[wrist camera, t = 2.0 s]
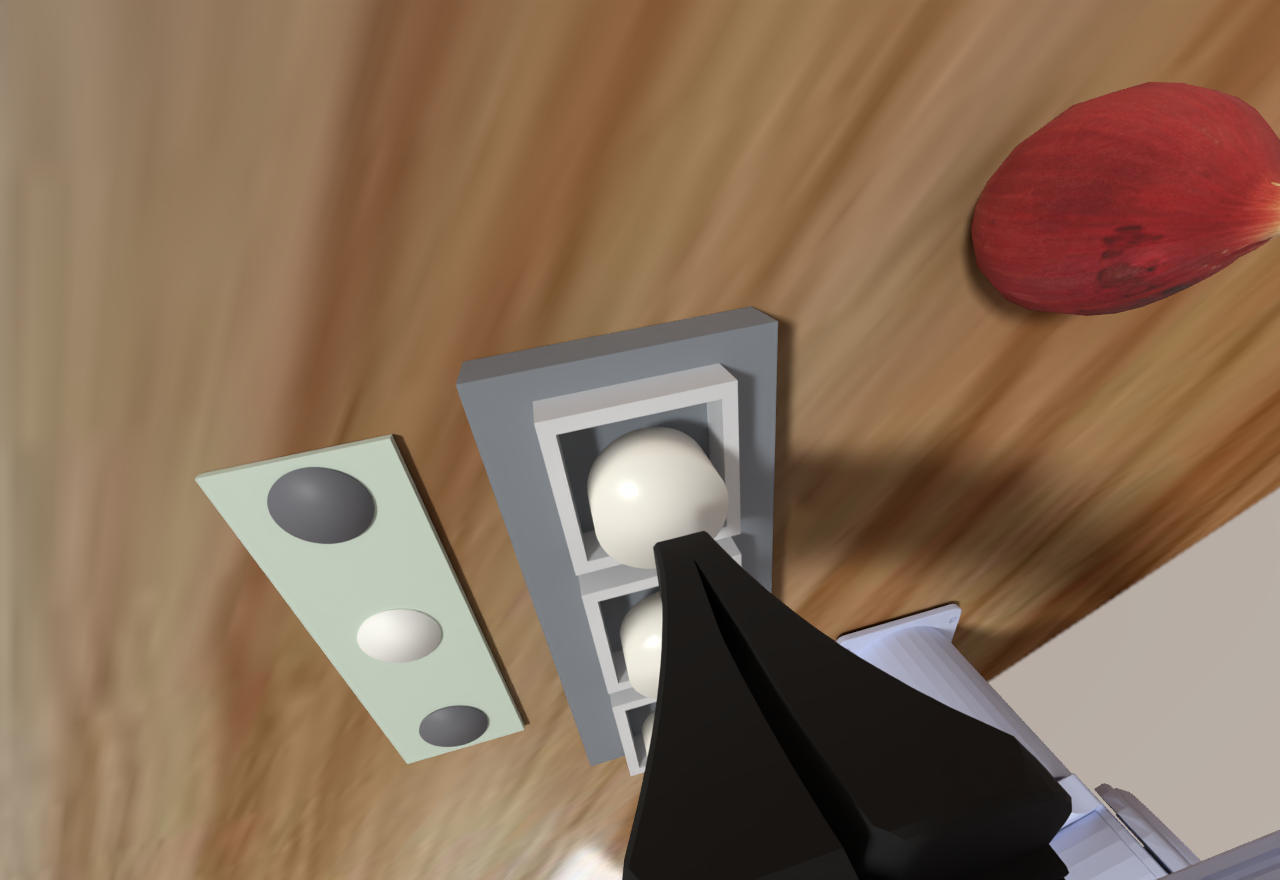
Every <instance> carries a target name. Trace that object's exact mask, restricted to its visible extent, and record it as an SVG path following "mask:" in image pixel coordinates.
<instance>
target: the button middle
mask: <svg viewBox="0 0 1280 880" xmlns="http://www.w3.org/2000/svg"><path fill="white" fill-rule="evenodd" d="M620 639H621V643H622V648H623V653H624V657H625V662H626V667H627V671H628V676H629V680H630V683H631V685H632V687H633V688H634V689H635V690H636V691H637V692H638V693H640V694H641V695H643V696H646V697H649V698H653V699H657V693H658V684H659V674H660V663H661V647H662V601H661V597H660V591H658V592H656V593H653V594H651V595H649V596H647V597H645V598H644V599H642V600H641V601H639V602H638V603H637V604H636V605H634V606H633V607H632V608H631V609H630V610H629V612H628V613H627V614H626V616H625V617H624V619H623V621H622V624H621V627H620Z"/></svg>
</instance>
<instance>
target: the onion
mask: <svg viewBox="0 0 1280 880" xmlns="http://www.w3.org/2000/svg"><path fill="white" fill-rule="evenodd" d="M971 233H972V241H973V246H974V251H975V256H976V261H977V266H978V268H979V269H980V270H981V271H982V273H983V274H984V275H985V276H986V278H987V279H988V280H989V281H990V282H991V284H992V285H993V286H994V287H995V288H996V289H997V290H998V291H999V292H1000V293H1001V295H1002V296H1003V297H1004V298H1005V299H1006V300H1008V301H1010V302H1012V303H1015V304H1017V305H1019V306H1022V307H1024V308H1026V309H1029V310H1035V311H1045V312H1055V313H1065V314H1075V315H1085V316H1091V315H1103V314H1115V313H1119V312H1123V311H1127V310H1131V309H1135V308H1139V307H1143V306H1145V305H1148V304H1151V303H1153V302H1156V301H1159V300H1161V299H1164V298H1167V297H1169V296H1171V295H1173V294H1175V293H1177V292H1180V291H1182V290H1184V289H1186V288H1188V287H1190V286H1192V285H1194V284H1196V283H1198V282H1200V281H1202V280H1204V279H1206V278H1208V277H1210V276H1212V275H1214V274H1215V273H1217V272H1219V271H1220V270H1222V269H1223V268H1225V267H1227V266H1228V265H1230V264H1231V263H1233V262H1234V261H1235V260H1236V259H1238V258H1239V257H1241V256H1243V255H1245V254H1247V253H1249V252H1251V251H1253V250H1255V249H1257V248H1258V247H1260V246H1262V245H1263V244H1265V243H1266V242H1268V241H1270V240H1271V239H1273V238H1275V237H1277V236H1280V140H1279V138H1278V137H1277V136H1276V134H1275V133H1274V131H1273V130H1272V129H1271V127H1270V126H1269V124H1268V123H1267V122H1266V121H1265V119H1264V118H1263V117H1262V116H1261V115H1260V114H1259V112H1258V111H1257V110H1256V109H1255V108H1253V107H1252V106H1250V105H1249V104H1247V103H1246V102H1244V101H1243V100H1241V99H1240V98H1238V97H1235V96H1232V95H1228V94H1225V93H1222V92H1219V91H1216V90H1212V89H1207V88H1202V87H1198V86H1193V85H1188V84H1184V83H1162V82H1148V83H1144V84H1141V85H1137V86H1134V87H1130V88H1127V89H1123V90H1120V91H1116V92H1113V93H1110V94H1106V95H1103V96H1100V97H1097V98H1094V99H1091V100H1088V101H1085V102H1082V103H1078V104H1075V105H1072V106H1071V107H1070V108H1068V109H1067V110H1066V111H1064V112H1063V113H1061V114H1060V115H1059V116H1057V117H1056V118H1055V119H1053V120H1052V121H1051V122H1049V123H1048V124H1046V125H1045V126H1044V127H1042V128H1041V129H1040V130H1038V131H1037V132H1035V133H1034V134H1033V135H1031V136H1030V137H1029V138H1027V139H1026V140H1024V141H1023V142H1022V143H1020V144H1019V145H1018V146H1016V147H1015V149H1014V150H1013V151H1012V152H1011V153H1010V155H1009V156H1008V157H1007V158H1006V160H1005V161H1004V162H1003V163H1002V165H1001V166H1000V167H999V168H998V170H997V171H996V172H995V173H994V174H993V176H992V177H991V178H990V179H989V181H988V182H987V184H986V186H985V188H984V190H983V192H982V194H981V196H980V197H979V199H978V201H977V203H976V205H975V210H974V216H973V221H972V227H971Z"/></svg>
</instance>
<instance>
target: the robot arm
mask: <svg viewBox="0 0 1280 880" xmlns="http://www.w3.org/2000/svg"><path fill="white" fill-rule="evenodd" d="M653 551H654V557H655V564H656V571H657V577H658V584H659V591H660V597H661V601H662V647H661V663H660V674H659V684H658V693H657V701H656V708H655V715H654V722H653V729H652V735H651V741H650V747H649V752H648V757H647V762H646V767H645V772H644V777H643V782H642V787H641V792H640V797H639V801H638V806H637V810H636V814H635V818H634V822H633V826H632V830H631V834H630V838H629V842H628V846H627V850H626V855H625V859H624V867H623V878H622V880H1280V830H1278V831H1276V832H1273V833H1271V834H1268V835H1266V836H1263V837H1261V838H1258V839H1256V840H1253V841H1251V842H1248V843H1246V844H1243V845H1241V846H1238V847H1236V848H1234V849H1231V850H1228V851H1226V852H1223V853H1221V854H1218V855H1216V856H1213V857H1211V858H1208V859H1206V860H1203V861H1201V860H1200V859H1199V858H1198V857H1197V856H1196V855H1195V854H1194V853H1193V852H1192V851H1191V850H1190V849H1189V848H1188V847H1187V846H1185V844H1184V843H1183V842H1182V841H1180V839H1179V838H1178V837H1177V836H1176V835H1175V834H1173V833H1172V832H1171V830H1169V829H1168V828H1167V827H1166V826H1165V825H1164V824H1163V823H1162V822H1161V821H1160V820H1159V819H1158V818H1157V817H1156V816H1155V815H1154V814H1153V813H1152V812H1151V811H1150V810H1149V809H1148V808H1147V807H1146V806H1145V805H1144V804H1142V803H1141V802H1140V801H1139V800H1138V799H1137V798H1136V797H1135V796H1134V795H1132V794H1131V793H1130V792H1127V791H1124V790H1121V789H1118V788H1115V789H1113V788H1112V787H1111V786H1110V785H1108V784H1101V785H1100V786H1098V787H1097V788H1095V791H1096V792H1097V793H1098V794H1099V795H1100V796H1101V797H1102V798H1103V800H1104V801H1105V802H1106V803H1107V804H1108V805H1109V806H1110V807H1111V808H1112V809H1113V810H1114V811H1115V813H1116V816H1117V817H1118V818H1119V819H1120V820H1121V821H1122V822H1123V823H1124V824H1125V826H1126V827H1127V828H1128V829H1129V830H1130V831H1131V832H1132V833H1133V834H1134V835H1135V836H1136V837H1137V839H1138V840H1139V841H1140V842H1141V843H1142V844H1143V845H1144V847H1142V846H1141V845H1140V844H1139V842H1138V841H1137V840H1136V839H1135V838H1134V837H1133V836H1132V835H1131V834H1130V833H1129V832H1128V831H1127V830H1126V829H1125V827H1124V826H1123V825H1122V824H1121V823H1120V822H1119V821H1118V820H1117V819H1116V818H1115V817H1114V816H1113V815H1112V814H1111V812H1110V811H1109V810H1108V809H1106V807H1105V806H1104V805H1103V804H1102V803H1101V802H1100V801H1099V800H1098V798H1097V797H1096V796H1095V795H1094V794H1093V793H1092V792H1091V791H1090V790H1089V789H1088V788H1087V787H1086V786H1085V785H1084V784H1083V782H1082V781H1081V780H1080V779H1079V778H1078V777H1077V776H1076V775H1075V774H1072V773H1071V772H1070V771H1069V770H1068V769H1067V768H1066V767H1065V766H1064V765H1063V764H1062V762H1061V761H1060V760H1059V759H1058V758H1057V757H1056V756H1055V755H1054V754H1053V753H1052V752H1051V751H1050V750H1049V748H1048V747H1047V746H1046V745H1045V744H1044V743H1043V742H1042V741H1041V740H1040V739H1039V737H1038V736H1037V735H1036V734H1035V733H1034V732H1033V731H1032V730H1031V729H1030V728H1029V727H1028V726H1027V725H1026V723H1024V721H1023V720H1022V719H1021V718H1020V717H1019V716H1018V715H1017V714H1016V713H1015V712H1014V711H1013V709H1012V708H1011V707H1010V706H1009V705H1008V704H1007V703H1006V702H1005V701H1004V700H1003V699H1002V697H1001V696H999V694H998V693H997V692H996V691H995V690H994V689H993V688H992V687H991V686H990V685H989V683H988V682H987V681H986V680H985V679H984V678H983V677H982V676H981V675H980V674H979V673H978V672H977V670H976V669H975V668H974V667H973V666H972V665H971V664H970V663H969V662H968V661H967V660H966V659H965V657H964V656H963V655H962V654H961V653H960V652H959V651H958V650H957V649H956V648H955V647H954V646H953V645H952V643H951V642H952V639H953V636H954V633H955V630H956V627H957V624H958V621H959V618H960V615H961V608H960V607H959V606H957V605H956V604H950V605H946V606H943V607H939V608H936V609H933V610H929V611H926V612H922V613H919V614H915V615H912V616H909V617H905V618H902V619H898V620H895V621H891V622H888V623H885V624H881V625H878V626H874V627H871V628H867V629H864V630H861V631H857V632H854V633H850V634H847V635H844V636H841V637H840V638H838V639H837V641H836V642H835V641H834V640H833V639H831V638H830V637H828V636H827V635H825V634H824V633H822V632H821V631H819V630H818V629H817V628H815V627H814V626H812V625H811V624H810V623H808V622H807V621H806V620H804V619H803V618H802V617H800V616H799V615H798V614H796V613H795V612H794V611H793V610H791V609H790V608H789V607H788V606H786V605H785V604H784V603H782V602H781V601H780V600H779V599H778V598H776V597H775V596H774V595H773V594H772V593H770V592H769V591H768V590H767V589H766V588H765V587H763V586H762V585H761V584H760V583H759V582H758V581H757V580H755V579H754V578H753V577H752V576H751V575H750V574H749V573H748V572H747V571H745V570H744V569H743V568H742V567H741V566H740V565H739V564H738V563H737V562H736V561H735V560H734V559H733V558H732V557H731V556H730V555H729V554H728V553H727V552H726V551H725V550H724V549H723V548H722V547H721V546H720V545H719V544H718V543H717V542H716V541H715V540H714V539H713V538H712V537H711V536H710V534H709V533H707V532H706V531H701V532H697V533H693V534H689V535H685V536H681V537H677V538H673V539H669V540H665V541H661V542H657V543H656V544H655V545H654V546H653Z"/></svg>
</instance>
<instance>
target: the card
mask: <svg viewBox="0 0 1280 880" xmlns="http://www.w3.org/2000/svg"><path fill="white" fill-rule="evenodd" d="M195 480H196V482H197V483H198V484H199V486H200V487H201V488H202V490H203V491H204V492H205V494H206V495H207V496H208V498H209V499H210V500H211V502H212V503H213V504H214V506H215V507H216V508H217V510H218V511H219V512H220V514H221V515H222V516H223V518H224V519H225V521H226V522H227V523H228V525H229V526H230V527H231V529H232V530H233V531H234V533H235V534H236V535H237V537H238V538H239V539H240V541H241V542H242V543H243V545H244V546H245V547H246V549H247V550H248V551H249V553H250V554H251V555H252V557H253V558H254V559H255V561H256V562H257V563H258V565H259V566H260V567H261V569H262V570H263V571H264V573H265V574H266V575H267V577H268V578H269V579H270V581H271V582H272V583H273V585H274V586H275V587H276V589H277V590H278V591H279V593H280V594H281V595H282V597H283V598H284V600H285V601H286V602H287V604H288V605H289V606H290V608H291V609H292V610H293V612H294V613H295V614H296V616H297V617H298V618H299V620H300V621H301V622H302V624H303V625H304V626H305V628H306V629H307V630H308V632H309V633H310V634H311V636H312V637H313V638H314V640H315V641H316V642H317V644H318V645H319V646H320V648H321V649H322V650H323V652H324V653H325V654H326V656H327V657H328V658H329V660H330V661H331V662H332V664H333V665H334V666H335V668H336V669H337V670H338V672H339V673H340V674H341V676H342V677H343V678H344V680H345V681H346V683H347V684H348V685H349V687H350V688H351V689H352V691H353V692H354V693H355V695H356V696H357V697H358V699H359V700H360V701H361V703H362V704H363V705H364V707H365V708H366V709H367V711H368V712H369V713H370V715H371V716H372V717H373V719H374V720H375V721H376V723H377V724H378V725H379V727H380V728H381V729H382V731H383V732H384V733H385V735H386V736H387V737H388V739H389V740H390V741H391V743H392V744H393V745H394V747H395V748H396V749H397V751H398V752H399V753H400V755H401V756H402V757H403V759H404V760H405V762H406V763H407V764H409V763H413V762H416V761H420V760H423V759H426V758H430V757H433V756H437V755H440V754H444V753H447V752H450V751H454V750H457V749H461V748H464V747H468V746H471V745H474V744H478V743H481V742H485V741H488V740H491V739H495V738H498V737H502V736H505V735H509V734H512V733H515V732H519V731H522V730H524V722H523V720H522V718H521V716H520V713H519V711H518V709H517V707H516V705H515V703H514V700H513V698H512V696H511V694H510V692H509V689H508V687H507V685H506V683H505V681H504V678H503V676H502V674H501V672H500V670H499V668H498V665H497V663H496V661H495V659H494V657H493V654H492V652H491V650H490V648H489V646H488V643H487V641H486V639H485V637H484V635H483V633H482V630H481V628H480V626H479V624H478V622H477V619H476V617H475V615H474V613H473V611H472V608H471V606H470V604H469V602H468V600H467V598H466V595H465V593H464V591H463V589H462V587H461V584H460V582H459V580H458V578H457V576H456V573H455V571H454V569H453V567H452V565H451V562H450V560H449V558H448V556H447V554H446V552H445V549H444V547H443V545H442V543H441V541H440V538H439V536H438V534H437V532H436V530H435V527H434V525H433V523H432V521H431V519H430V517H429V514H428V512H427V510H426V508H425V506H424V503H423V501H422V499H421V497H420V495H419V492H418V490H417V488H416V486H415V484H414V482H413V479H412V477H411V475H410V473H409V471H408V468H407V466H406V464H405V462H404V460H403V457H402V455H401V453H400V451H399V449H398V447H397V444H396V442H395V440H394V438H393V436H392V434H391V435H386V436H381V437H376V438H372V439H367V440H362V441H357V442H352V443H347V444H343V445H338V446H333V447H328V448H323V449H318V450H313V451H309V452H304V453H299V454H294V455H289V456H284V457H280V458H275V459H270V460H265V461H260V462H255V463H251V464H246V465H241V466H236V467H231V468H226V469H222V470H217V471H212V472H207V473H202V474H199V475H198V476H197V477H196V478H195Z"/></svg>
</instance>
